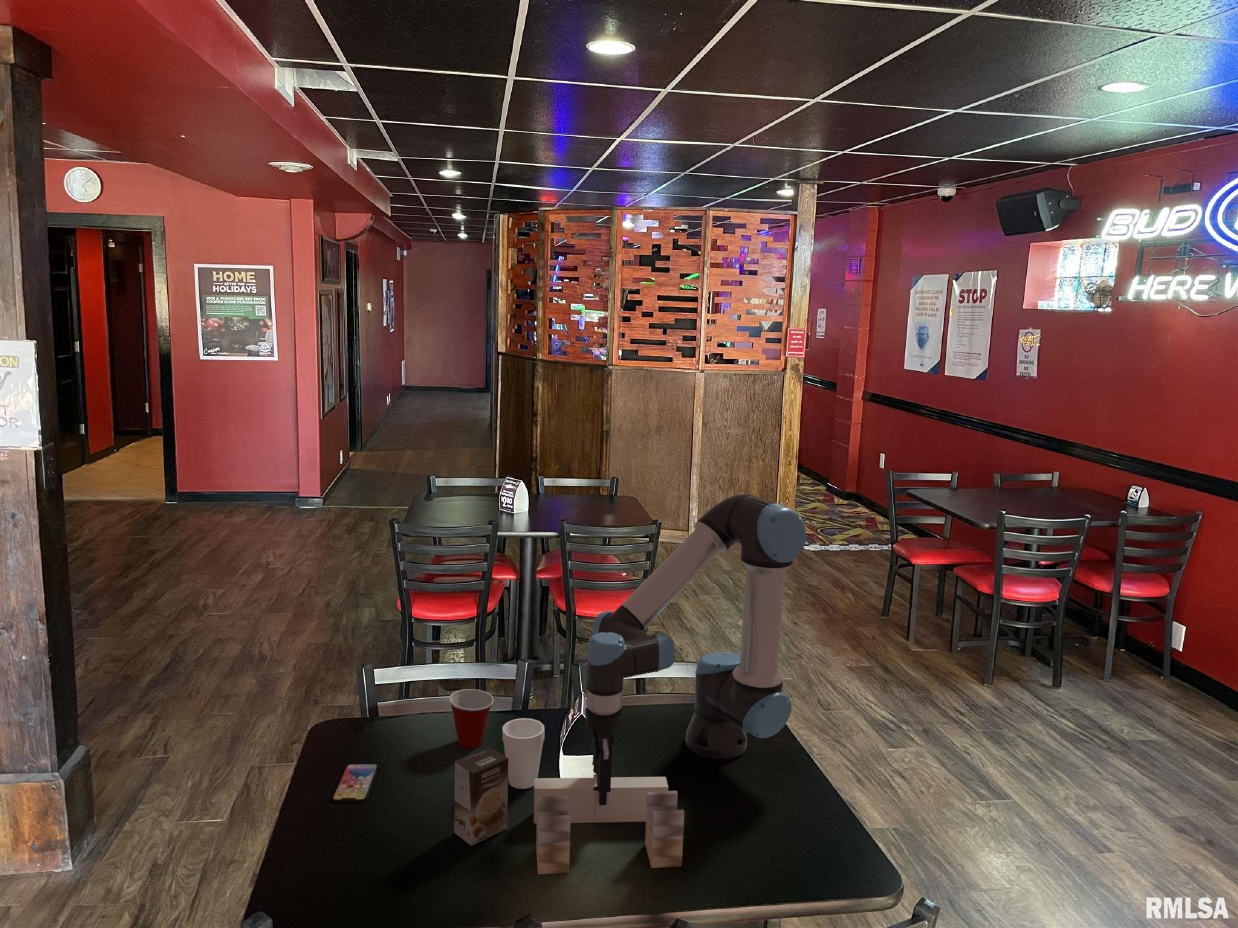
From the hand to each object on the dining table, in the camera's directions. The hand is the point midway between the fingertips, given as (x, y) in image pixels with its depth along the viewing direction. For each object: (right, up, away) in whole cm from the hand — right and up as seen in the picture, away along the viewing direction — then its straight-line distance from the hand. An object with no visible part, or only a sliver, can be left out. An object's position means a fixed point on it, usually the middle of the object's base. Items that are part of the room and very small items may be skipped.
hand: (600, 808), depth 189 cm
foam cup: (-18, +1, +13) cm, 22 cm away
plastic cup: (-32, +5, +29) cm, 43 cm away
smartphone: (-55, +1, +10) cm, 56 cm away
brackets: (+2, -4, -13) cm, 14 cm away
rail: (0, -2, 0) cm, 2 cm away
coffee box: (-24, -2, -6) cm, 25 cm away
